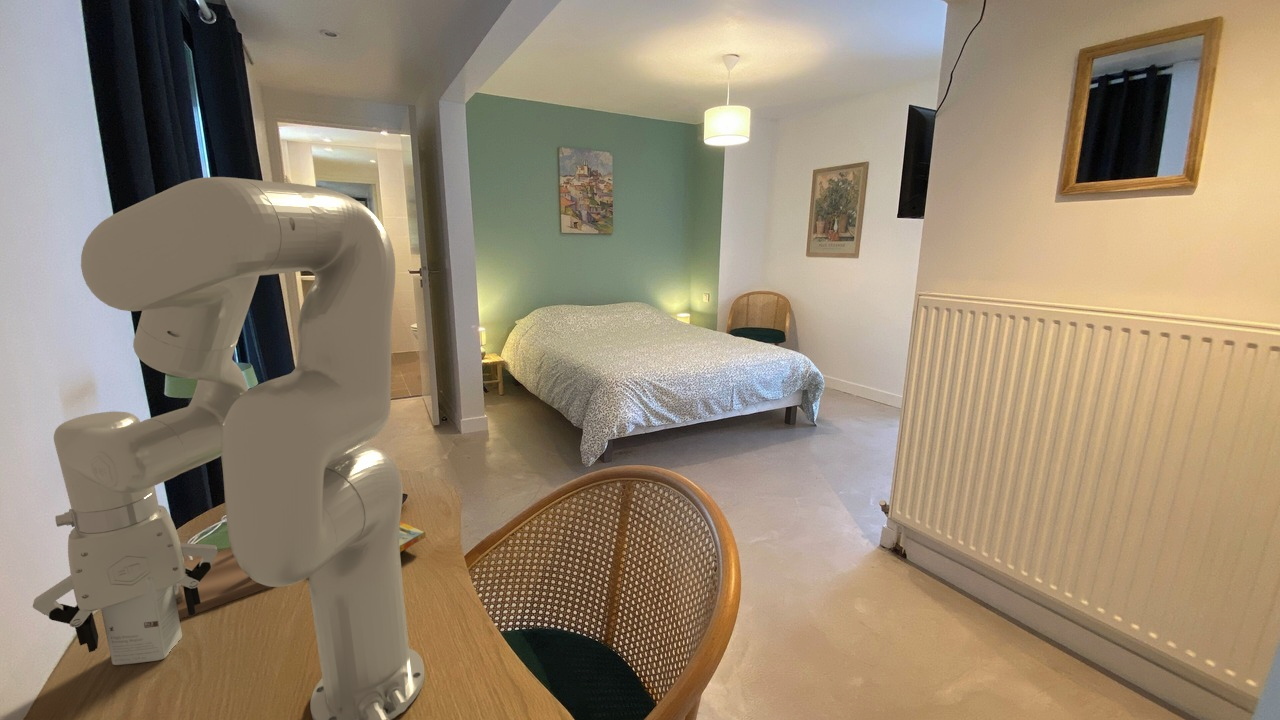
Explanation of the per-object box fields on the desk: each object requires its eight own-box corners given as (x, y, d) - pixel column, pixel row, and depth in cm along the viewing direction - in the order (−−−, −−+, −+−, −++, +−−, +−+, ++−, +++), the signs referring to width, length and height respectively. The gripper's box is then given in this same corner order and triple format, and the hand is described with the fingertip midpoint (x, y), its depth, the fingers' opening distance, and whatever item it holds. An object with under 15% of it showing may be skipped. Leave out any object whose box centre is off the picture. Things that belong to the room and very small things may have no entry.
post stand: (283, 582, 86) (278, 552, 85) (149, 629, 75) (142, 596, 74) (268, 544, 96) (263, 516, 95) (148, 581, 85) (141, 551, 84)
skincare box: (111, 667, 69) (90, 585, 66) (134, 642, 73) (115, 564, 70) (167, 659, 70) (148, 579, 67) (186, 635, 75) (170, 558, 72)
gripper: (7, 550, 58) (46, 679, 63) (208, 500, 70) (229, 612, 74) (18, 522, 64) (53, 643, 68) (203, 479, 75) (223, 585, 79)
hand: (145, 626), depth 71 cm, fingers open, 9 cm apart
